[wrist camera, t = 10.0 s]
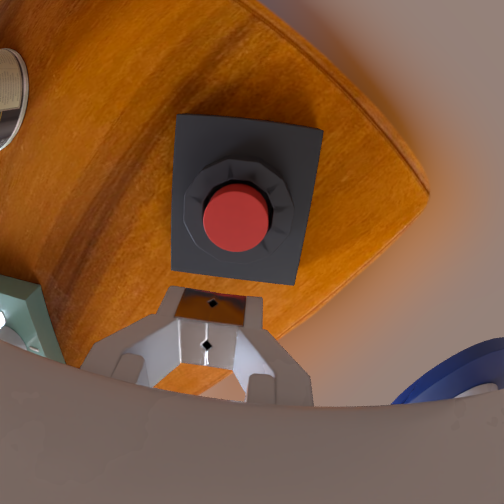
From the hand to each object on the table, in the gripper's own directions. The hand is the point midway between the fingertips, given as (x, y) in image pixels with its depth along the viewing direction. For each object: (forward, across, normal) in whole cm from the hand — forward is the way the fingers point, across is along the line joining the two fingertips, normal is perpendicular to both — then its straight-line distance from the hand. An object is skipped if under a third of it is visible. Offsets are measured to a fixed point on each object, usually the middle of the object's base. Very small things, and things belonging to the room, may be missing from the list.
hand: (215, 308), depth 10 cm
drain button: (+9, 0, 0) cm, 9 cm away
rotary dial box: (+13, +25, +18) cm, 33 cm away
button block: (+13, 0, 0) cm, 13 cm away
